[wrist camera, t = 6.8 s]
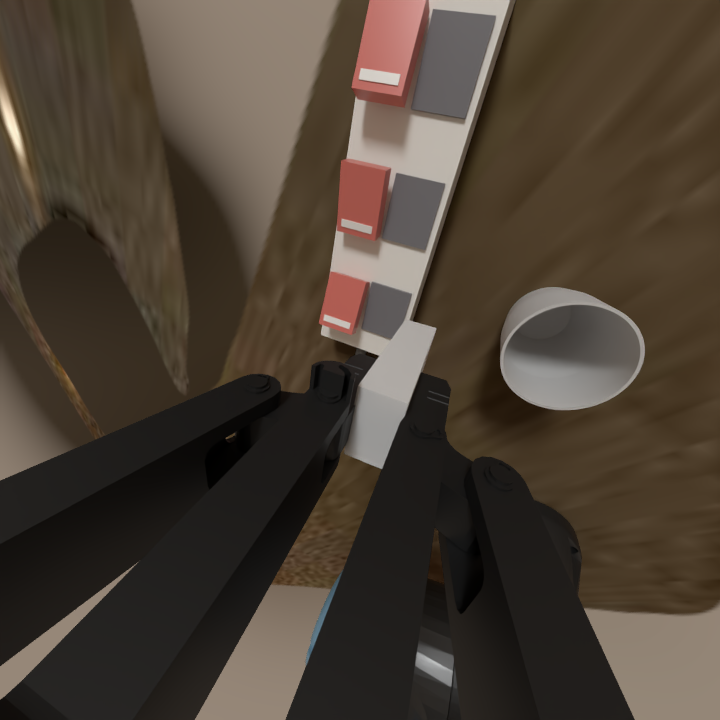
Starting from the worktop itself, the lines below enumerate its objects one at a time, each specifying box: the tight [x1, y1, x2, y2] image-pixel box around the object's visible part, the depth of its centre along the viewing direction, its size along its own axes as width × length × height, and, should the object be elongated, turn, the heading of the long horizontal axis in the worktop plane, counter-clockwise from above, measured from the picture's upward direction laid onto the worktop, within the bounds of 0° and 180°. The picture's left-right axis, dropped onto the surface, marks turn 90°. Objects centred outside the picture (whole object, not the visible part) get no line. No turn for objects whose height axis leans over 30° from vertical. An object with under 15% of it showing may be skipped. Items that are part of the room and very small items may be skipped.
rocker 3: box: [352, 0, 430, 108], centre depth 19 cm, size 5×4×2 cm
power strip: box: [321, 0, 516, 356], centre depth 28 cm, size 34×9×4 cm, turn 167°
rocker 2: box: [319, 271, 370, 335], centre depth 29 cm, size 5×4×2 cm
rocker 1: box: [337, 158, 391, 241], centre depth 24 cm, size 5×4×2 cm
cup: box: [500, 287, 645, 410], centre depth 24 cm, size 8×8×10 cm
